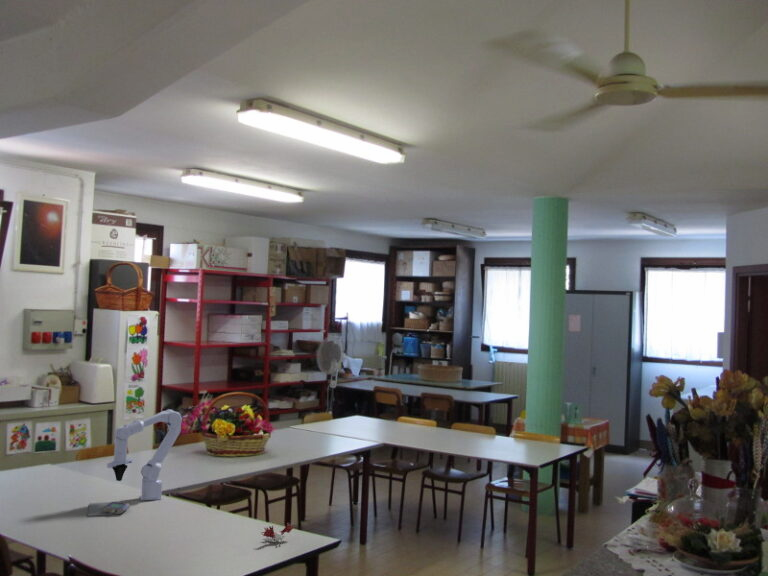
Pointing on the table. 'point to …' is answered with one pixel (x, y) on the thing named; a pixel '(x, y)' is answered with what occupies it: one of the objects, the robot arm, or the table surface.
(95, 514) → the mat
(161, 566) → the table surface
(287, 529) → the figurine
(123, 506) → the clover print pouch
